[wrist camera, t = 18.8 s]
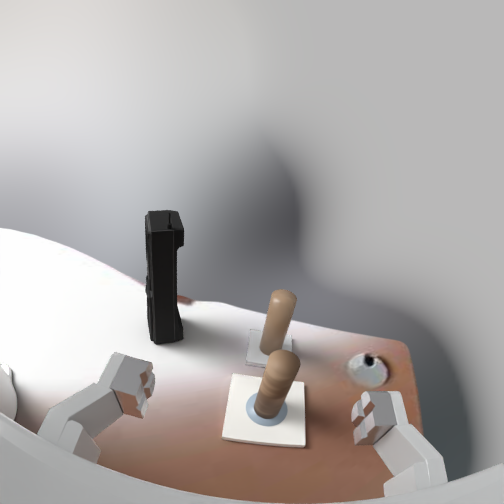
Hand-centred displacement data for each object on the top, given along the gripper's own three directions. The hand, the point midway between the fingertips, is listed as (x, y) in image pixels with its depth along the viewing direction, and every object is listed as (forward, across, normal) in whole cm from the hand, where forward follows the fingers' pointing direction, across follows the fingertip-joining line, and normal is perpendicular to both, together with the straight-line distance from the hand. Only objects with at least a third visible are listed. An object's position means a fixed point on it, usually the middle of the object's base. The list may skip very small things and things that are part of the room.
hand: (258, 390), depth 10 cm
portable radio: (+31, +15, +32) cm, 47 cm away
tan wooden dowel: (+30, -5, +32) cm, 44 cm away
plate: (+17, -5, +32) cm, 37 cm away
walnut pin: (+17, -5, +31) cm, 36 cm away
